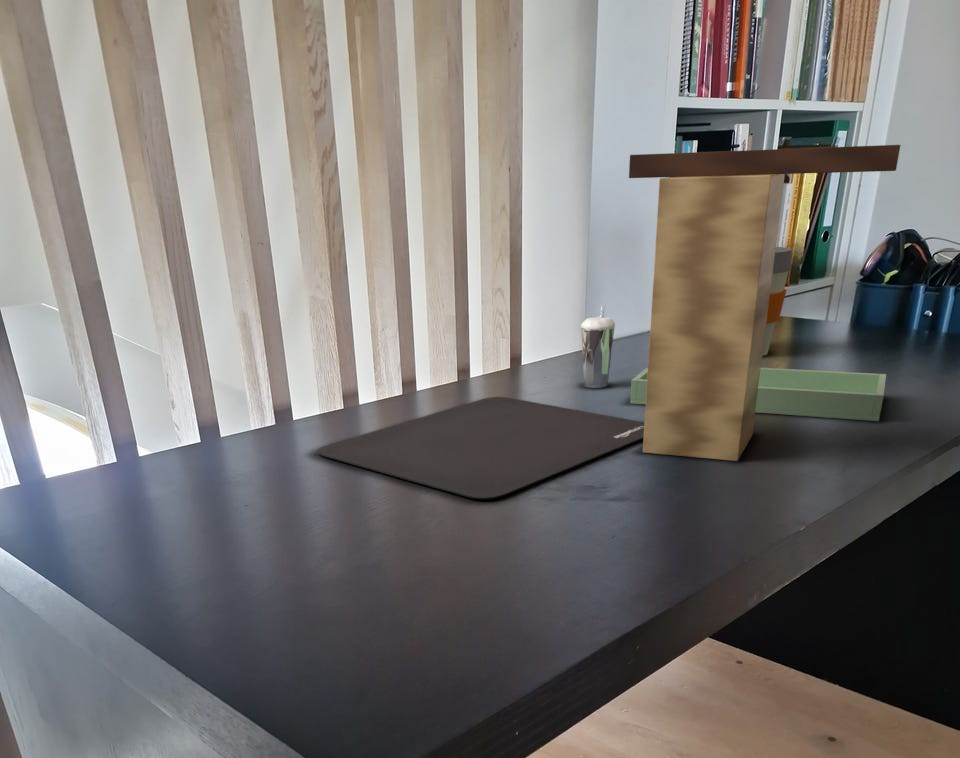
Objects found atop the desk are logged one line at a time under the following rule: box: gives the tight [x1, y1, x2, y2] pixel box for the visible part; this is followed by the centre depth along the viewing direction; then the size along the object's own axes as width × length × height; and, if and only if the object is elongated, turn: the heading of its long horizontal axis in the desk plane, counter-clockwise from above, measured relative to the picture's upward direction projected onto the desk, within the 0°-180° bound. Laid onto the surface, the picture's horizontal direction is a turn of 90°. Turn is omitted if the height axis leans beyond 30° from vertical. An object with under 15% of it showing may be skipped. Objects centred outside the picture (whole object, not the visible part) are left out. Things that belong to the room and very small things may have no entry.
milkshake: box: [580, 306, 616, 389], centre depth 118 cm, size 4×5×10 cm
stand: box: [642, 174, 786, 462], centre depth 88 cm, size 10×10×26 cm
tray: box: [629, 366, 887, 422], centre depth 109 cm, size 30×12×3 cm, turn 66°
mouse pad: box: [316, 396, 645, 500], centre depth 97 cm, size 32×27×1 cm
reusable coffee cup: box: [762, 246, 793, 357], centre depth 133 cm, size 13×13×15 cm
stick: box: [628, 144, 901, 179], centre depth 80 cm, size 24×2×2 cm, turn 66°
